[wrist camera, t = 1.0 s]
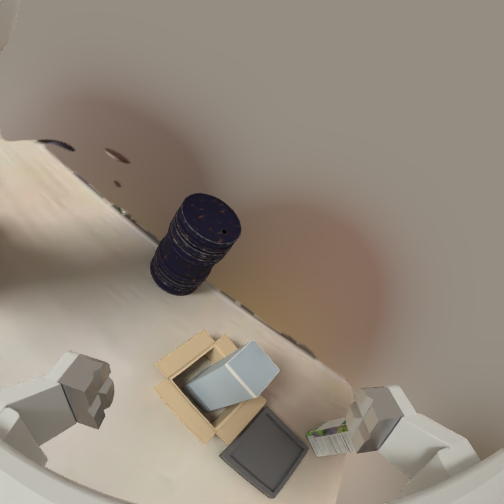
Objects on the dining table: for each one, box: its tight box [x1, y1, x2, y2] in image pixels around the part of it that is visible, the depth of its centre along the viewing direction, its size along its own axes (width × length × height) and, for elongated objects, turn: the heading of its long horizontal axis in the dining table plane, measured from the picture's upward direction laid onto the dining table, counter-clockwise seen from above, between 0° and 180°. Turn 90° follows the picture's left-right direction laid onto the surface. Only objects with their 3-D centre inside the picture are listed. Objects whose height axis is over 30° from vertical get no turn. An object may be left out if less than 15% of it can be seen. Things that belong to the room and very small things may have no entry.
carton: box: [153, 329, 267, 445], centre depth 37 cm, size 15×15×4 cm
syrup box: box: [306, 417, 356, 457], centre depth 38 cm, size 6×6×14 cm
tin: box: [182, 339, 280, 413], centre depth 34 cm, size 5×5×14 cm
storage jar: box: [150, 193, 241, 296], centre depth 44 cm, size 10×10×15 cm
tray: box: [219, 407, 309, 499], centre depth 35 cm, size 12×12×1 cm
